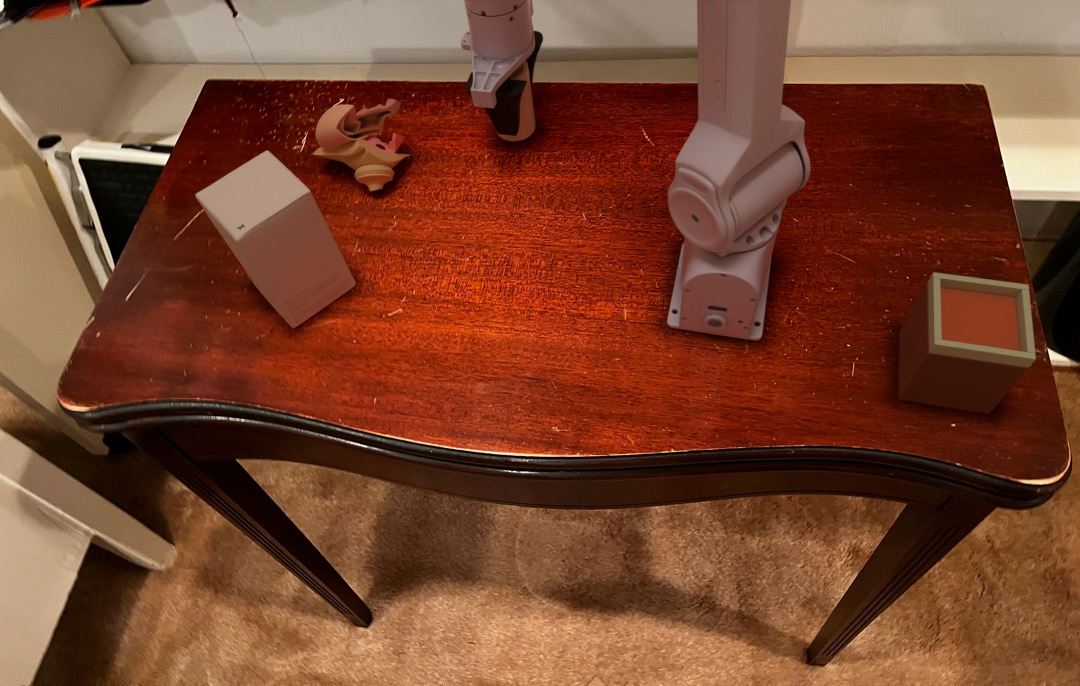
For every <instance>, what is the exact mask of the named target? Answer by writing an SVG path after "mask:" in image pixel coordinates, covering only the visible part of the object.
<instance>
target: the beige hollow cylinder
mask: <svg viewBox="0 0 1080 686" xmlns="http://www.w3.org/2000/svg"><path fill="white" fill-rule="evenodd" d="M510 79H512V80H523V81H527V83H526V86H525V88H524V91H523V93H522V96H521V101H520V125H519V130H518V133H517V136H511V135H501V134H498V132H497V131H496V134H497V135H498V137H499V138H501V139H502V140H505V141H508V142H520V141H523V140H525V139H528V138H529V137H530V136H532V134H533V133H534V132H535V130H536V117H535V108H534V101H533V93H531V85H530V77H529V69H528V64H527V62H526V61H524V62H523V63H522V64H521V65H520V66H519V67H518V68H517V69H516V70H515V71H514V72H513V73H512V74H511V75H510Z"/></svg>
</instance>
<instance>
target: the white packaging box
mask: <svg viewBox="0 0 1080 686" xmlns="http://www.w3.org/2000/svg"><path fill="white" fill-rule="evenodd" d="M194 195H195V198H196V200H197V201H198V203H199V204H200V206H201V208H202V209H203V210H204V213H205V215H207V217H208V218H209V220H210V222H211V223H212V224H213V225H214V227H215V229H216V230H217V232H218V233H219V234H220V236H221V237H222V239H223V240H224V242H225V243H226V244H227V247H229V249H230V250H231V252H232V254H233V255H234V256H235V258H236V260H237V261H238V262H239V263H240V265H241V266H242V268H243V269H244V271H245V273H246V274H247V276H248V277H249V279H250V280H251V282H252V283H253V285H254V287H256V289H257V290H258V292H260V293H261V295H262V296H263V297H264V298H265V299H266V301H267V302H268V303H269V305H270V306H272V307H273V309H274V310H275V311H276V312H277V313H278V314H279V316H281V318H282V319H283V320H284V321H285V322H286V323H287V324H288V325H289V327H291V328H292V329H296V328H297V327H298V326H300V325H301V324H303V323H305V322H306V321H308V320H309V319H310V318H311V317H313V316H315V315H316V314H317V313H319V312H320V311H322V310H323V309H325V308H326V307H328V306H329V305H330V304H332V303H334V302H335V301H336V300H338V299H339V298H340V297H342V296H343V295H345V294H347V292H349V291H350V290H351V289H353V288H354V287H355V286H356V284H357V282H356V280H355V278H354V276H353V274H352V272H351V270H350V267H349V266H348V264H347V261H346V260H345V258H344V256H343V254H342V252H341V250H340V248H339V245H338V244H337V242H336V240H335V238H334V235H333V234H332V232H331V230H330V228H329V226H328V224H327V222H326V220H325V218H324V216H323V214H322V212H321V210H320V208H319V205H318V203H317V202H316V199H315V197H314V196H313V193H312V191H311V189H310V188H309V187H307V185H306V184H305V183H304V182H302V181H301V179H299V178H298V176H296V175H295V174H294V173H293V172H292V171H291V170H290V169H289V168H287V166H286V165H284V164H283V163H282V162H281V161H280V160H279V159H278V158H277V157H276V156H275V155H274V154H273V153H272V152H271V151H270V150H265V151H263V152H262V153H260V154H258V155H257V156H254V157H253V158H252V159H250V160H248V161H246V162H245V163H244V164H242V165H240V166H239V167H237V168H236V169H234V170H232V171H231V172H229V173H227V174H226V175H225V176H223V177H221V178H220V179H218V180H216V181H214V183H211V184H210V185H208V186H207V187H205V188H203V189H202V190H200V191H198V192H196V193H195V194H194Z"/></svg>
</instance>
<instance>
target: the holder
mask: <svg viewBox="0 0 1080 686" xmlns="http://www.w3.org/2000/svg"><path fill="white" fill-rule="evenodd" d="M1032 315H1033V314H1032V304H1031V295H1030V285H1029V284H1027V283H1019V282H1011V281H1010V282H1009V281H1002V280H995V279H987V278H980V277H973V276H964V275H958V274H951V273H950V274H949V273H943V272H935V271H933V272H932V274H931V276H930V277H929V279H928V281H926V283H925V285H924V286H923V288H922V290H921V292H920V294H919V295H918V297H917V299H916V301H915V303H914V304H913V307H912V308H911V309H910V311H909V314H908V316H907V317H906V319H905V321H904V322H903V324H902V326H901V328H900V330H899V333H898V339H899V340H898V400H900V401H905V402H910V403H911V402H913V403H917V404H923V405H929V406H935V407H942V408H947V409H953V410H960V411H965V412H966V411H967V412H972V413H977V414H984V415H990V414H991V412H992V411H993V410H995V408H996V407H997V406H998V405H999V404H1000V402H1001V401H1002V400H1003V399H1004V398H1005V397H1006V396H1007V395H1008V393H1009V392H1010V391H1011V390H1012V389H1013V388H1014V387H1015V385H1016V384H1017V383H1019V381H1020V379H1022V377H1023V376H1024V375H1025V374H1026V373H1027V371H1029V369H1030V366H1032V364H1033V363H1034V362H1035V361H1036V360H1037V355H1036V347H1035V346H1036V345H1035V337H1034V336H1035V335H1034V325H1033V324H1034V323H1033V316H1032Z"/></svg>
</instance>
